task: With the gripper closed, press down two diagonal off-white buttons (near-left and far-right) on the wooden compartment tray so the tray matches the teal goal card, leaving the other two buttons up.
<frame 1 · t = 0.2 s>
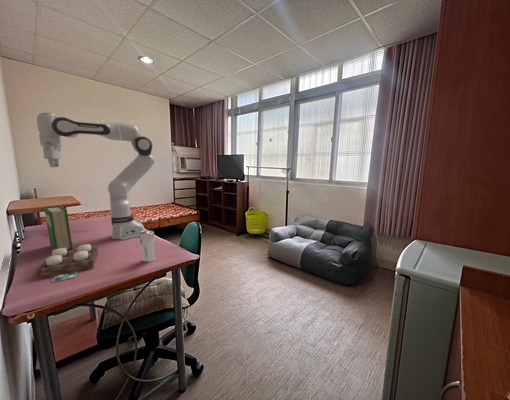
hand: (54, 167, 128), 48 cm above the table, fingers open, 8 cm apart
goal card: (65, 277, 98), on the table
button c: (81, 256, 107), point 5 cm above the table, slide at 0.0 cm
hardback book: (61, 248, 131), on the table
button d: (54, 260, 102), point 5 cm above the table, slide at 0.0 cm
button b: (59, 253, 111), point 5 cm above the table, slide at 0.0 cm
beer glass: (149, 259, 116), on the table
button a: (84, 249, 116), point 5 cm above the table, slide at 0.0 cm
wooden compartment tray: (71, 264, 110), on the table
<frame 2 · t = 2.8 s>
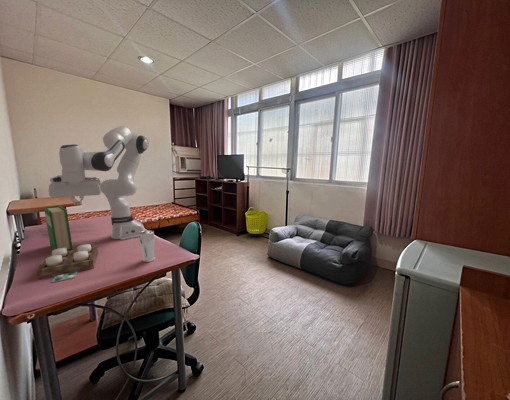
hand: (78, 205, 112), 29 cm above the table, fingers closed
nothing on the table moved.
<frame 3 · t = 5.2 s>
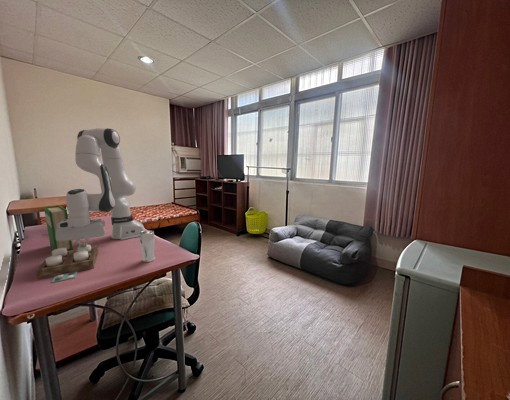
hand: (83, 246, 115), 7 cm above the table, fingers closed, pressing on button a
button a: (84, 249, 116), point 5 cm above the table, slide at 0.2 cm, touching gripper
everything else where it was.
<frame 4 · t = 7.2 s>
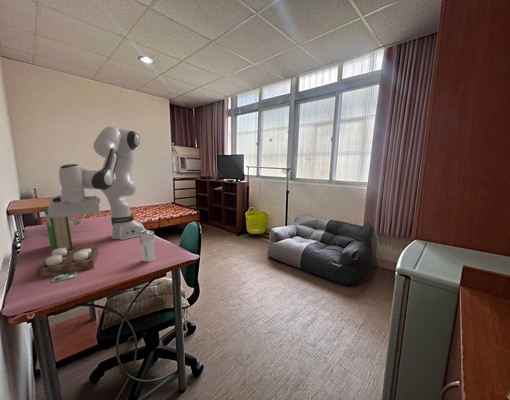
hand: (77, 224, 111), 20 cm above the table, fingers closed
button a: (85, 253, 116), point 3 cm above the table, slide at 2.5 cm
everything else where it was.
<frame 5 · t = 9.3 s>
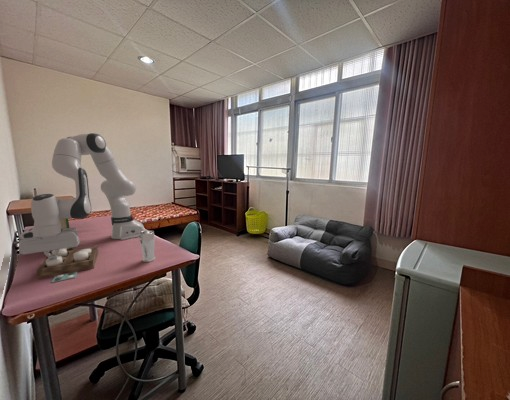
hand: (53, 258, 102), 6 cm above the table, fingers closed, pressing on button d
button d: (54, 262, 102), point 5 cm above the table, slide at 0.8 cm, touching gripper
everything else where it was.
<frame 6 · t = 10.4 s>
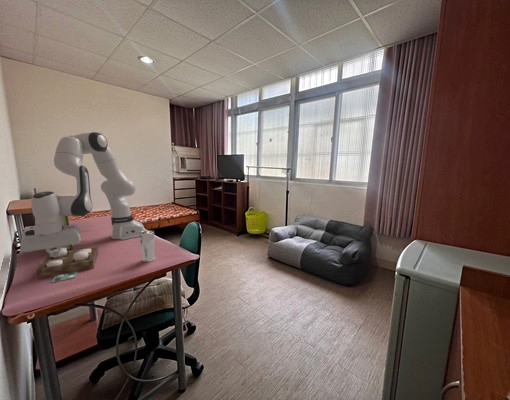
hand: (55, 256, 102), 7 cm above the table, fingers closed
button d: (55, 265, 103), point 3 cm above the table, slide at 2.4 cm
everything else where it was.
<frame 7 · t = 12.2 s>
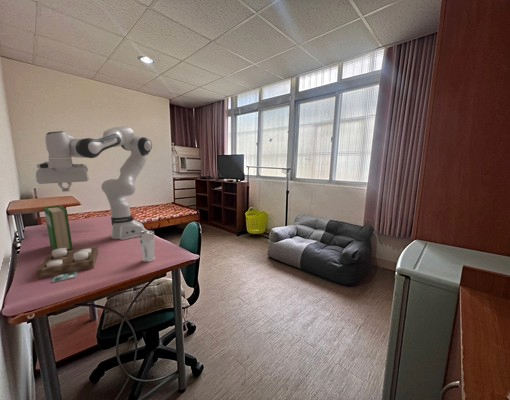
hand: (66, 191, 114), 36 cm above the table, fingers closed
nothing on the table moved.
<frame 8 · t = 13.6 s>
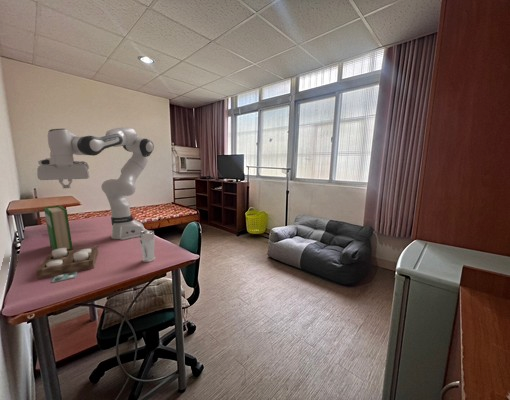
hand: (66, 188, 114), 37 cm above the table, fingers closed
nothing on the table moved.
at the end: button a slide at 2.5 cm; button d slide at 2.4 cm; button b slide at 0.0 cm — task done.
